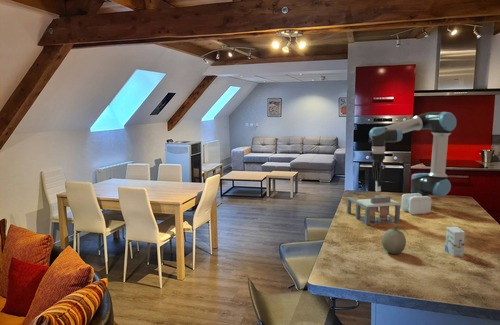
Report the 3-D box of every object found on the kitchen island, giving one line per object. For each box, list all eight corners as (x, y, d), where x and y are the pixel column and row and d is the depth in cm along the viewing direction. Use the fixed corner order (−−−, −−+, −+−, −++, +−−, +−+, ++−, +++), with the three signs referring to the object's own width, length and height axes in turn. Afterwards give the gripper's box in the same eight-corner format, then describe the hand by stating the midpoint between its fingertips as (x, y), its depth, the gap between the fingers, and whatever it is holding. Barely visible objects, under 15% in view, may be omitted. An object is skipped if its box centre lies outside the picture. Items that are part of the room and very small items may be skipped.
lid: (387, 199, 241) (387, 193, 241) (400, 205, 227) (400, 198, 227) (356, 201, 238) (356, 194, 237) (367, 207, 224) (367, 200, 223)
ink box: (444, 249, 187) (445, 226, 185) (454, 249, 187) (456, 226, 185) (453, 256, 178) (454, 232, 177) (464, 256, 178) (465, 232, 176)
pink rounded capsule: (384, 218, 238) (385, 204, 236) (388, 220, 233) (389, 206, 232) (377, 219, 237) (378, 204, 236) (381, 221, 232) (382, 206, 231)
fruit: (405, 259, 176) (406, 227, 174) (379, 254, 182) (380, 223, 180) (409, 251, 185) (410, 221, 183) (384, 247, 191) (385, 218, 189)
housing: (376, 211, 256) (377, 195, 254) (399, 223, 229) (400, 205, 228) (346, 213, 252) (347, 197, 250) (366, 226, 226) (366, 207, 224)
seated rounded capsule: (372, 219, 236) (373, 205, 235) (376, 221, 232) (376, 207, 230) (365, 220, 235) (366, 205, 234) (369, 222, 231) (369, 207, 230)
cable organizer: (421, 209, 259) (422, 192, 258) (431, 213, 249) (432, 196, 247) (400, 211, 256) (401, 194, 255) (410, 215, 246) (411, 197, 245)
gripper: (367, 152, 239) (367, 189, 243) (378, 154, 227) (377, 194, 230) (378, 151, 241) (378, 188, 244) (389, 153, 228) (389, 193, 232)
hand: (378, 191), depth 237 cm, fingers closed
